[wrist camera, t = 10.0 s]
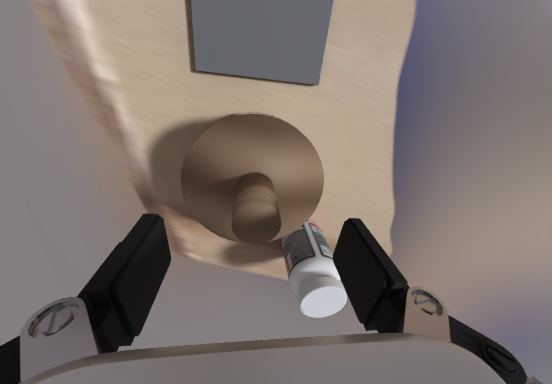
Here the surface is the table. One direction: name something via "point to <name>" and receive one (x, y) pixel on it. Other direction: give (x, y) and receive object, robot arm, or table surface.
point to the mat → (261, 38)
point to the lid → (252, 178)
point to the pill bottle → (313, 271)
